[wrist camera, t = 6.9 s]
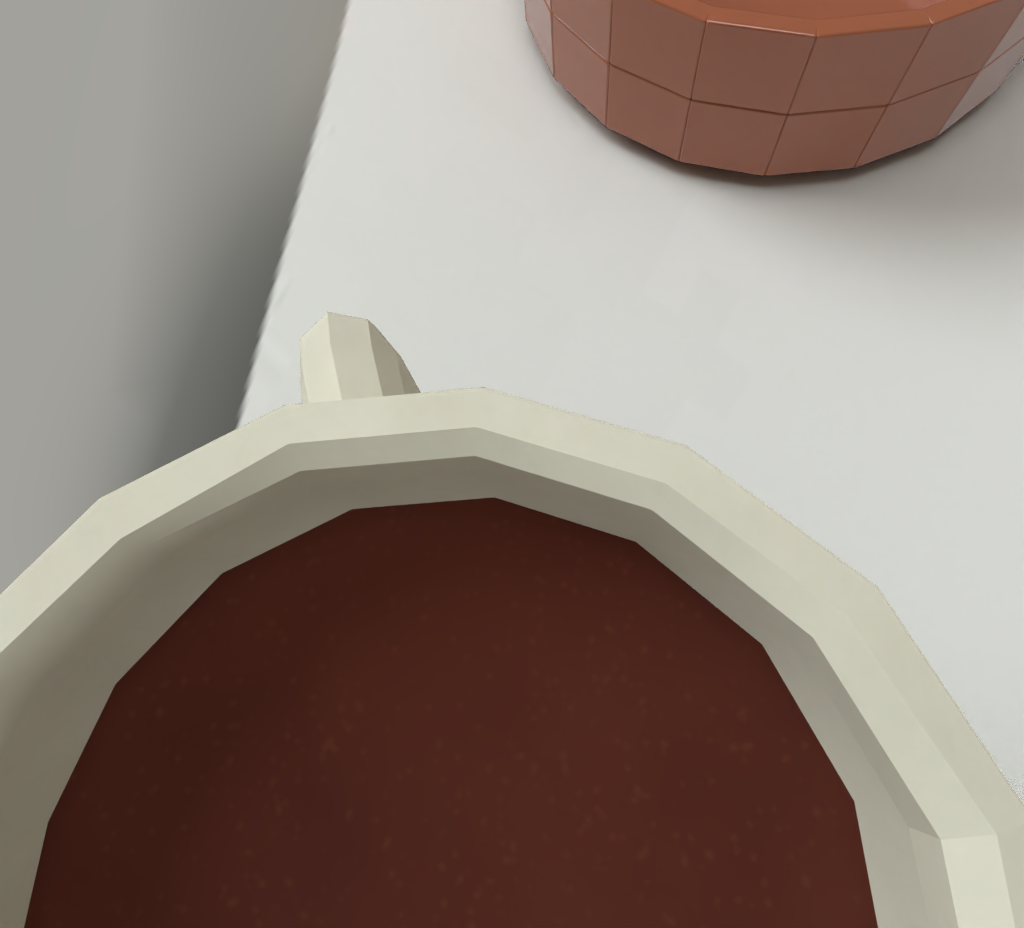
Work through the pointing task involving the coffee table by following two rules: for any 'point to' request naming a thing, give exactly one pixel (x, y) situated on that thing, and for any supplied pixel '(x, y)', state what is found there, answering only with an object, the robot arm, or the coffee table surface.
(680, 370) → the coffee table surface
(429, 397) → the character mug
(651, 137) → the bowl
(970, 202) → the coffee table surface
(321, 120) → the coffee table surface
